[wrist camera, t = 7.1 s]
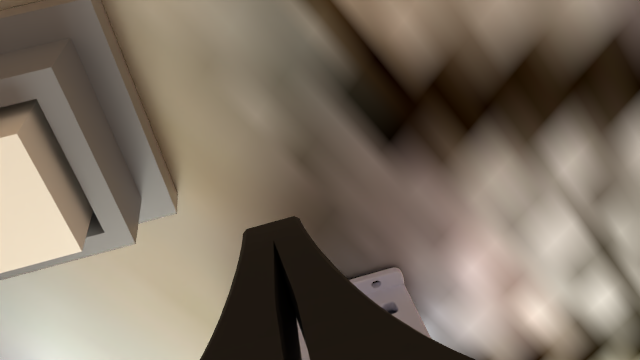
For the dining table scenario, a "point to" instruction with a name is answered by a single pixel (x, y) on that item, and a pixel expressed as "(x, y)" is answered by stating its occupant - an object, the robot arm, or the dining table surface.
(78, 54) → the key panel
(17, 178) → the cream key
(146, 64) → the dining table surface
